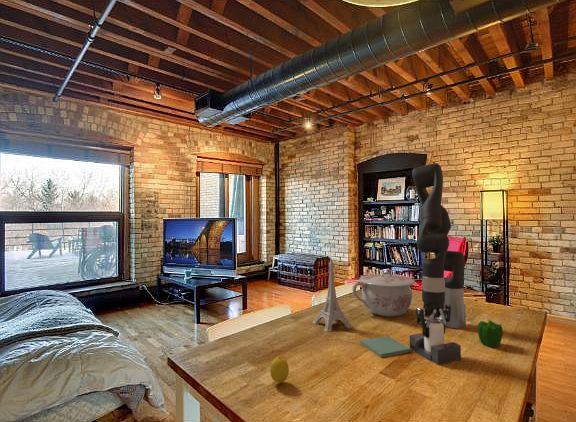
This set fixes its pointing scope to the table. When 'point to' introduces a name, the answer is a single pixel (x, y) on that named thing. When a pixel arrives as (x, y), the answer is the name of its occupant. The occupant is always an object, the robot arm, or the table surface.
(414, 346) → the block
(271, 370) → the lemon
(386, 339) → the mat
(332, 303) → the eiffel tower
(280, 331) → the table surface
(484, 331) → the bell pepper
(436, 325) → the can
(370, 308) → the chamber pot
